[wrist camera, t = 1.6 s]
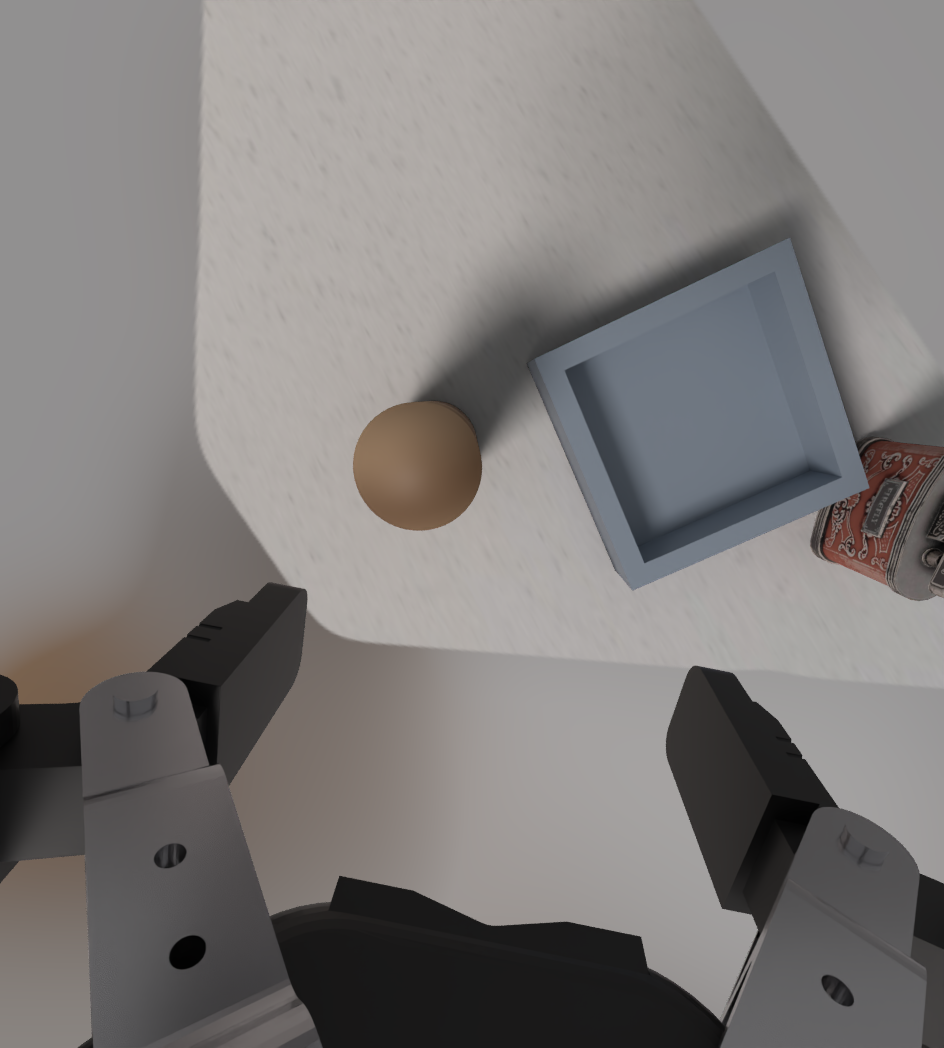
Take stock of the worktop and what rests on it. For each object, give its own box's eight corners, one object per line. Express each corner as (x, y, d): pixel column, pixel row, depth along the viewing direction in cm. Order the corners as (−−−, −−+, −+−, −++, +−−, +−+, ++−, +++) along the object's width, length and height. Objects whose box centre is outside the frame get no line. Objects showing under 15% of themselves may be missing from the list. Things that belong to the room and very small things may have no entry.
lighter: (854, 429, 35) (1002, 441, 25) (904, 446, 35) (1070, 464, 26) (798, 552, 37) (918, 607, 27) (847, 567, 37) (983, 628, 27)
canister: (376, 423, 35) (330, 436, 23) (454, 385, 34) (448, 380, 23) (414, 500, 36) (388, 550, 24) (491, 465, 35) (502, 498, 24)
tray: (526, 363, 34) (534, 358, 30) (751, 256, 33) (789, 237, 29) (615, 570, 37) (632, 590, 33) (825, 477, 36) (869, 487, 32)
